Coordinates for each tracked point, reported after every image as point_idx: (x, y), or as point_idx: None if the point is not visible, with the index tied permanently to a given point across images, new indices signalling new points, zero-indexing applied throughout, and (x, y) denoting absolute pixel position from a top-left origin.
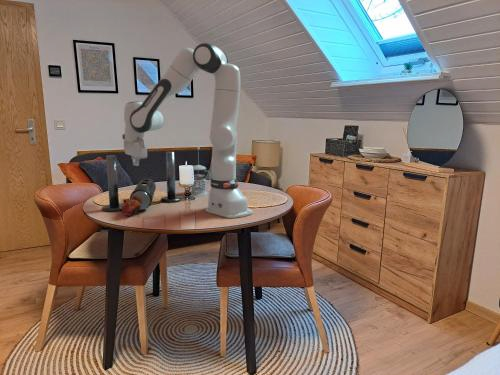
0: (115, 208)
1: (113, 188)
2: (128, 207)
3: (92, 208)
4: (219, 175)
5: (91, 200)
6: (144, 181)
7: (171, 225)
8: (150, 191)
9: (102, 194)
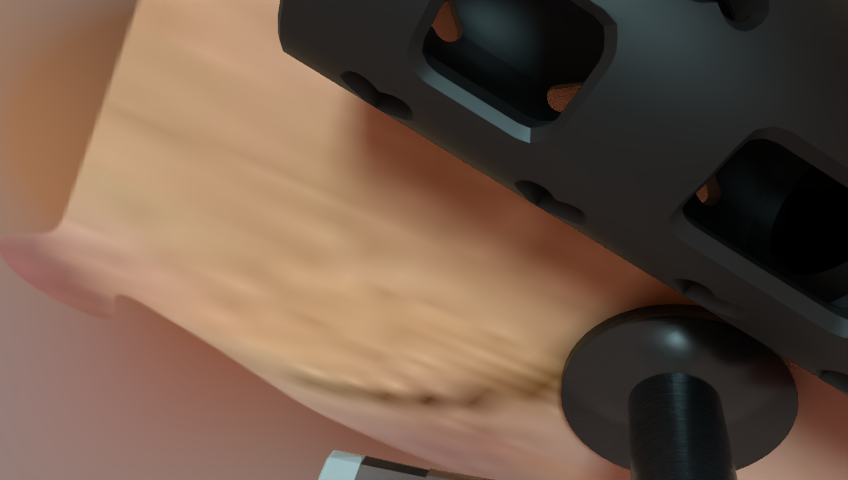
0: (745, 426)
1: None
2: None
3: (525, 470)
4: None
5: (268, 379)
6: (628, 133)
7: None
8: None
9: (80, 238)
